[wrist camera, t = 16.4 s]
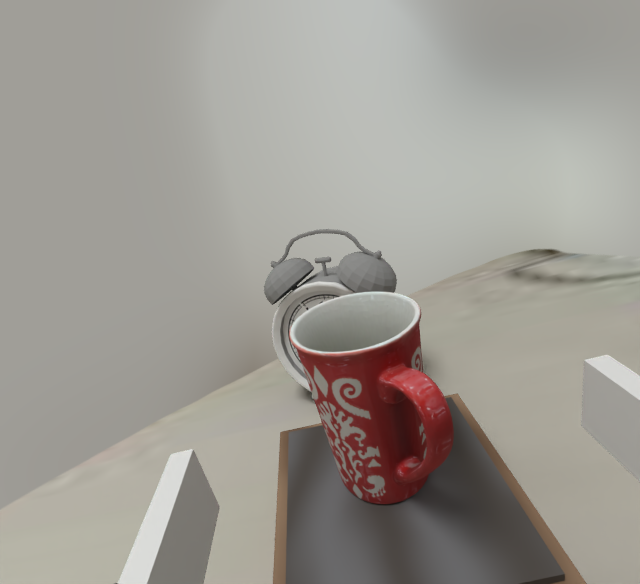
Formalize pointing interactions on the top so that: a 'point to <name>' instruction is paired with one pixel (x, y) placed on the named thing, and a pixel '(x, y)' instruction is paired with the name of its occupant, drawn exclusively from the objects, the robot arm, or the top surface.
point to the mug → (374, 393)
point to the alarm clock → (319, 291)
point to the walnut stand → (412, 521)
